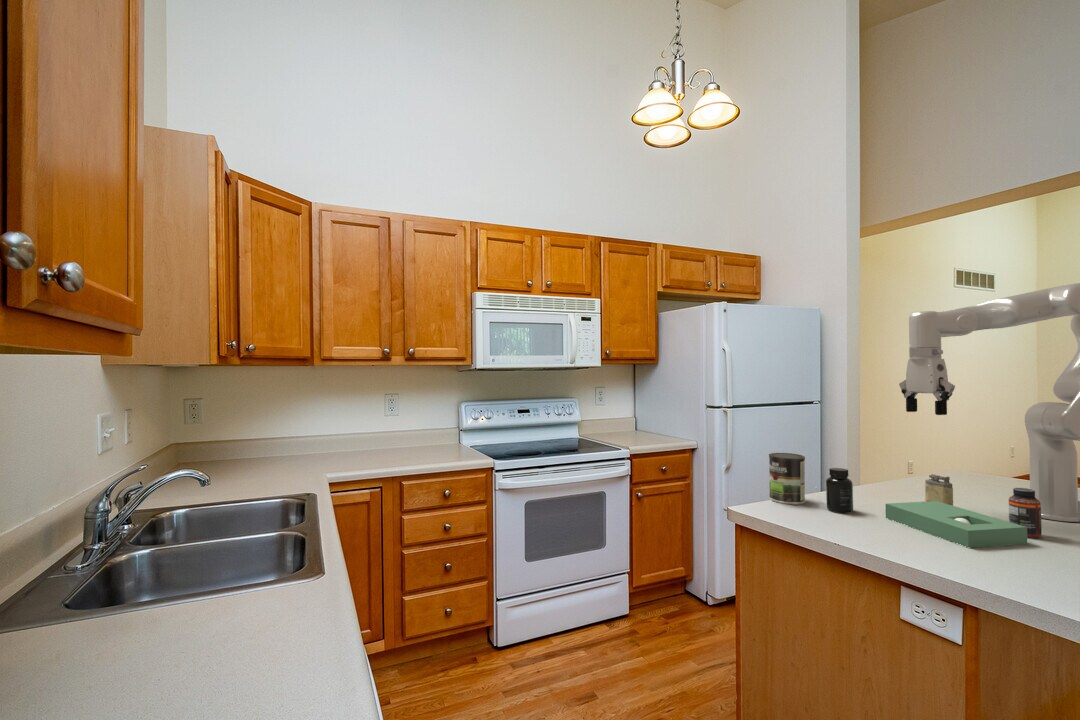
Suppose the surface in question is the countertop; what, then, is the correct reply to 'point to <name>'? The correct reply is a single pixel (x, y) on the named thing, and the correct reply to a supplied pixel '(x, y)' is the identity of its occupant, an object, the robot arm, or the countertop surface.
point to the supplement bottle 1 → (839, 491)
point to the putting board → (957, 524)
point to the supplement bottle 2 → (1026, 511)
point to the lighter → (939, 489)
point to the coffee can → (787, 478)
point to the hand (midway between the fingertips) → (925, 413)
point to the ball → (962, 520)
